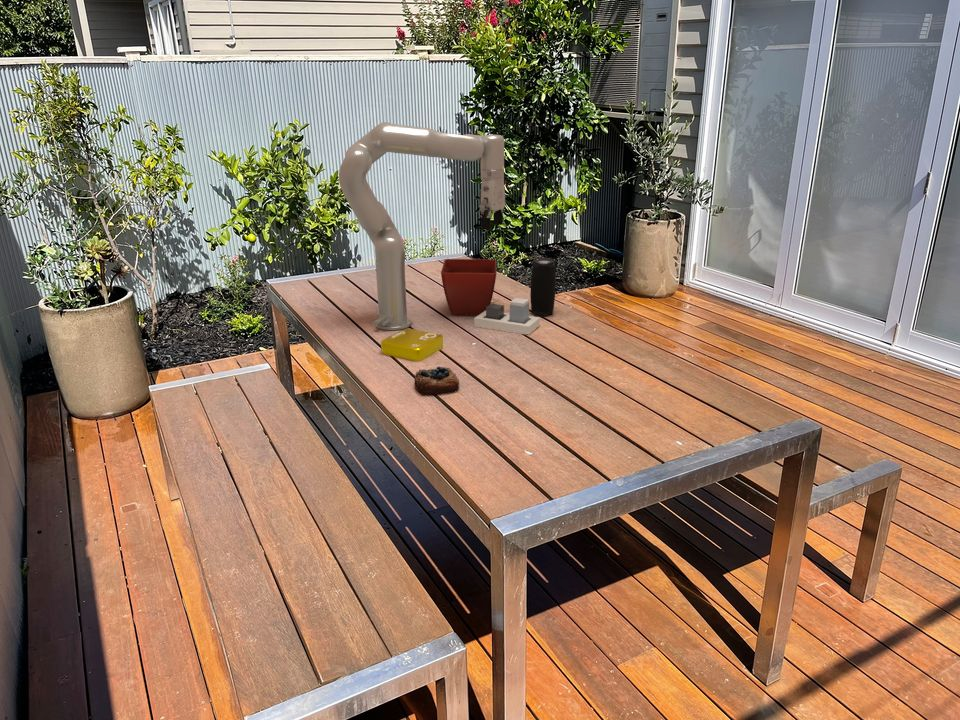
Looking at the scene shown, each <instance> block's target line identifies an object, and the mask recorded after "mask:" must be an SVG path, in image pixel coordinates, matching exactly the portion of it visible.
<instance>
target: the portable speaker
mask: <svg viewBox="0 0 960 720" xmlns="http://www.w3.org/2000/svg"><path fill="white" fill-rule="evenodd" d="M556 276H557V274H556V262H555V260H553V259H550V258H549V257H539V258H537V259H533V260H532V267H531V274H530V300H529V303H530V311H531V312H532V313H533V315H534V317H539V318H544V317H546V316H547V315H553V314H554V307H555V299H556V283H557V281H556V280H557V278H556Z"/></svg>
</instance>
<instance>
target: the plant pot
mask: <svg viewBox="0 0 960 720" xmlns="http://www.w3.org/2000/svg"><path fill="white" fill-rule="evenodd" d="M440 275H441V276H440V277H441V281H442V282H441V283H442V289H443V292H444V296H445V299H446V300H445V301H446V304H447V307H448V309H449V312H450V315H451V316H454V317H455V316H466V317H467V316H468V317H469V316H470V317H471V316H472V317H477V316H478V315H480V314H481V313H483V312H484V311H486V307H487V306H488V305H490V304H492V300H493V297H494V291H495V285H496V279H497V260H496V259H489V258H488V259H486V258H485V259H484V258H483V259H482V258H479V259H478V258H477V259H476V258H474V259H473V258H446V259H444V260H443V264H442V268H441V272H440Z"/></svg>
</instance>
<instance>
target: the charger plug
mask: <svg viewBox="0 0 960 720" xmlns="http://www.w3.org/2000/svg"><path fill="white" fill-rule="evenodd" d="M509 313H510V317H509V322H515V323H522V324H525V323H526V322H528V321H529V316H530V300H529V299H527V298H518V297H514V298H513V299H512V300H511V301H510V302H509Z"/></svg>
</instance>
